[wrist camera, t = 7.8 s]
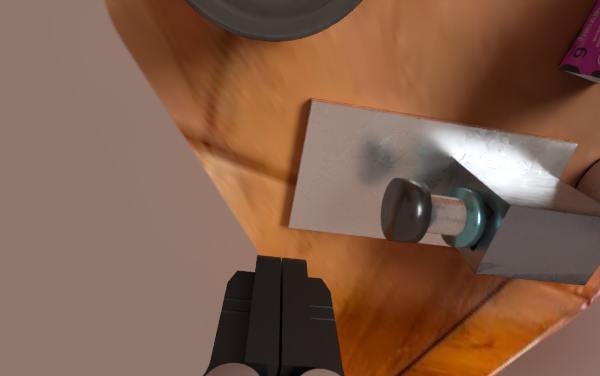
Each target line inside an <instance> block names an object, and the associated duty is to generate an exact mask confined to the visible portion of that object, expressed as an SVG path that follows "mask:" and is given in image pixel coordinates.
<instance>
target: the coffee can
mask: <svg viewBox="0 0 600 376" xmlns="http://www.w3.org/2000/svg"><path fill="white" fill-rule="evenodd" d="M185 1H186V2H187V3H188V4H189V5H190V6H191V7H192V8H193V9H194V10H196V11H197V12H198V13H199V14H201V15H202V16H203V17H204V18H206V19H207V20H209V21H210V22H212V23H213V24H215V25H216V26H218V27H220V28H222V29H224V30H226V31H229V32H231V33H234V34H236V35H239V36H242V37H246V38H250V39H254V40H261V41H274V42H279V41H291V40H296V39H301V38H305V37H308V36H311V35H314V34H317V33H319V32H321V31H323V30H325V29H327V28H329V27H330V26H332V25H334V24H336V23H337V22H339V21H340V20H341V19H343V18H344V17H345V16H347V15H348V14H349V13H350V12H351V11H352V10H354V9H355V8H356V7H357V6H358V5H359V4H360V3H361V2H362V1H363V0H185Z"/></svg>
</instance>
